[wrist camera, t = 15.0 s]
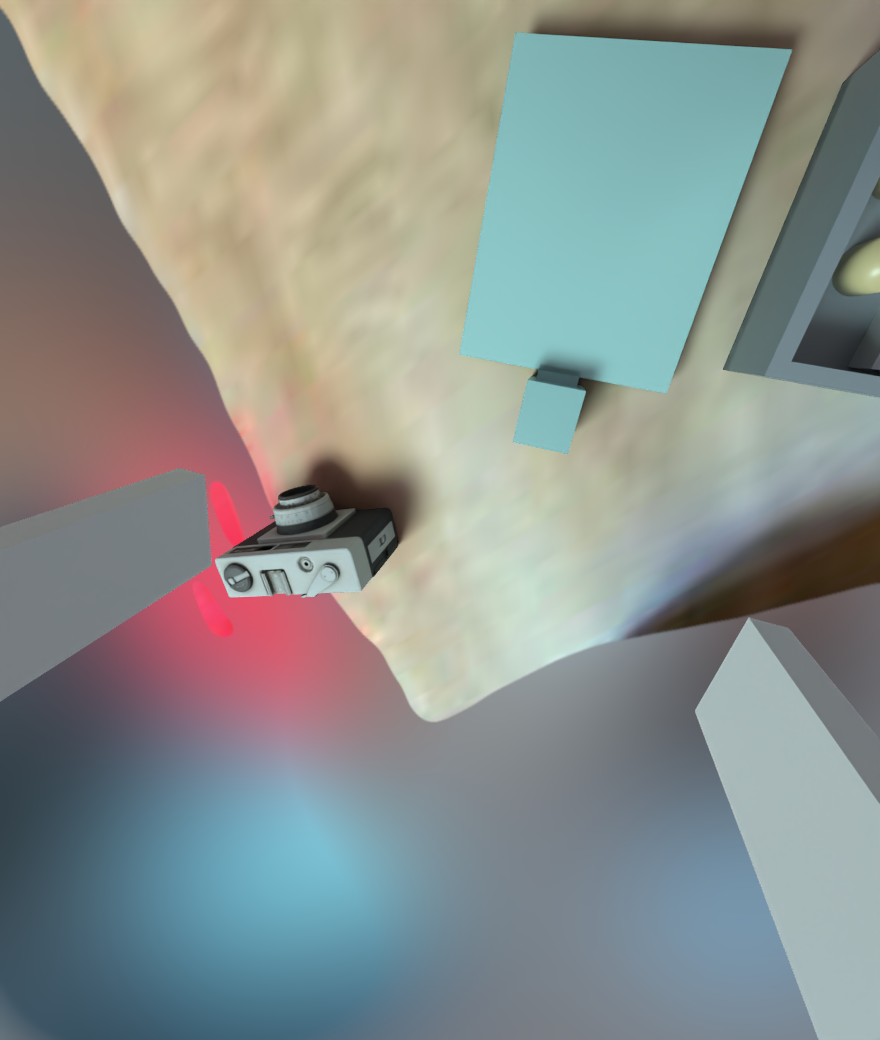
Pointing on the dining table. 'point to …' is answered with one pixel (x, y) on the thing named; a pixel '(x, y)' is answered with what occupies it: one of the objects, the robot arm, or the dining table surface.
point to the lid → (609, 211)
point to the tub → (826, 260)
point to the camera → (310, 549)
